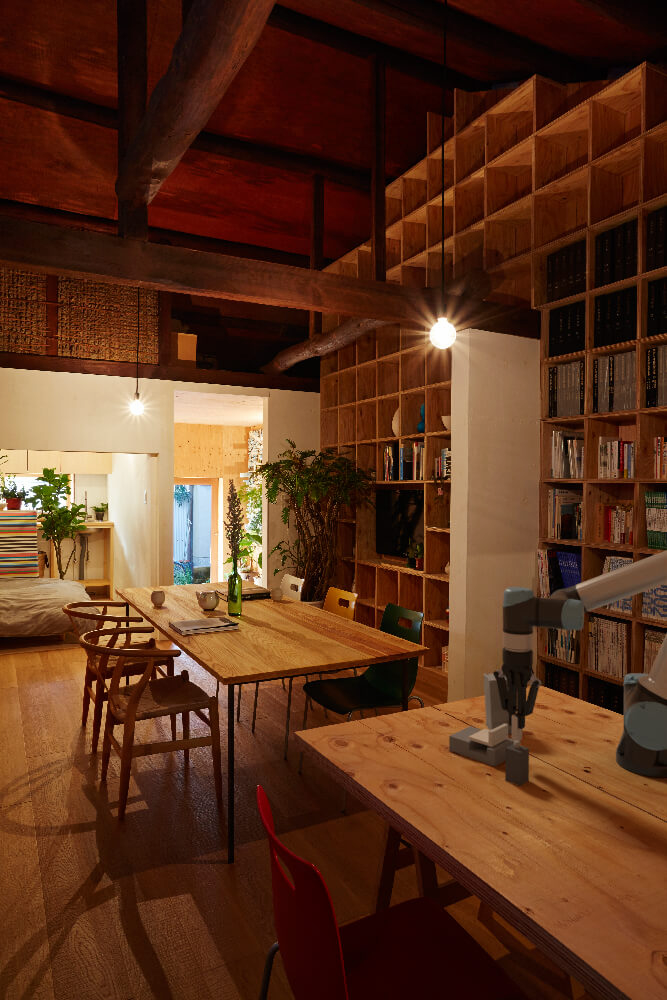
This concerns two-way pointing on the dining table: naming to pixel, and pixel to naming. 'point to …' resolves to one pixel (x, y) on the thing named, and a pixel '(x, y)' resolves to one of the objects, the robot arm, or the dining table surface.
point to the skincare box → (494, 704)
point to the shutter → (491, 735)
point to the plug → (517, 764)
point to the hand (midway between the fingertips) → (516, 739)
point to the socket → (478, 747)
